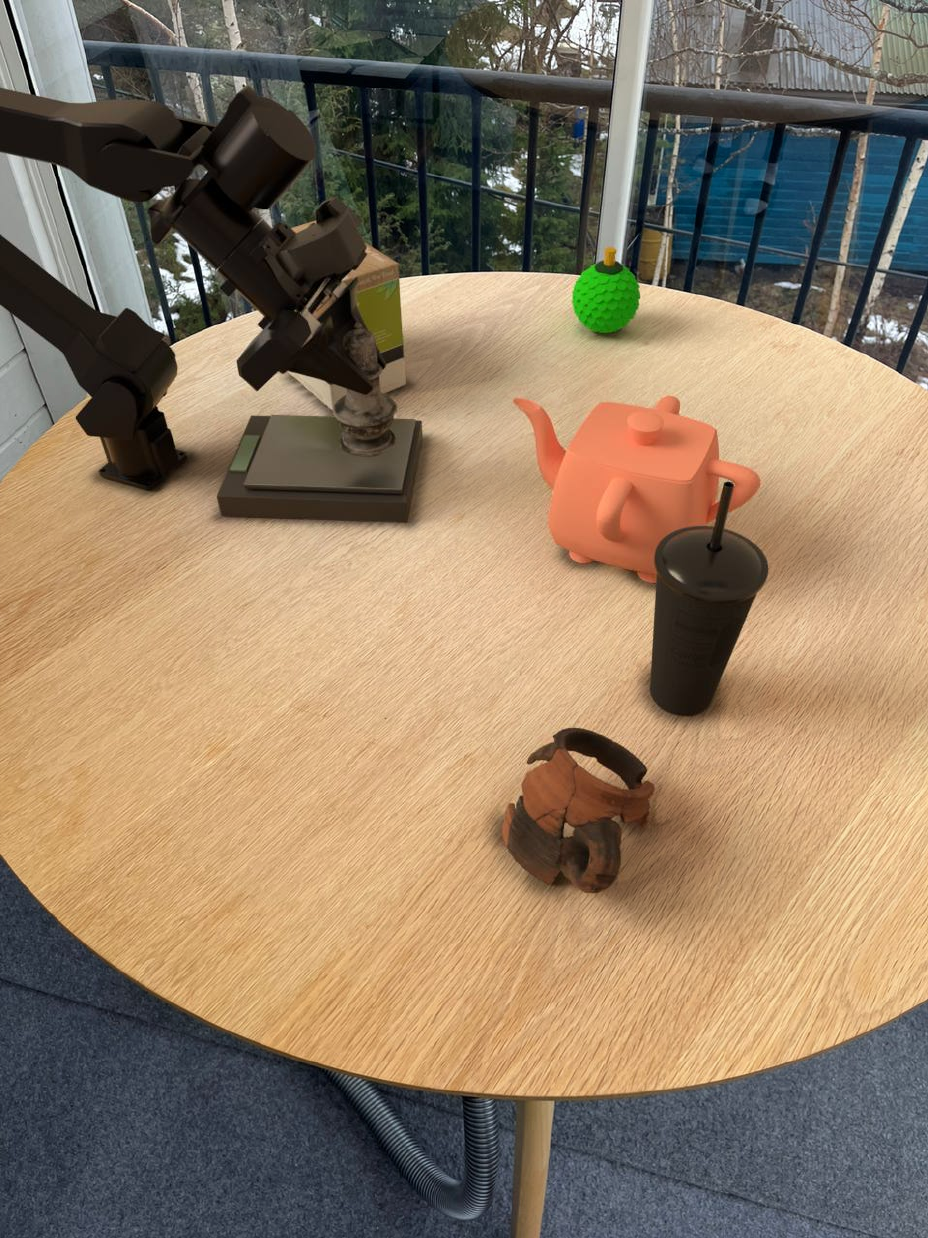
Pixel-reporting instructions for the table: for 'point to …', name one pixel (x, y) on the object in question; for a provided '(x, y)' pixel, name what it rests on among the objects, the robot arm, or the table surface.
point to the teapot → (632, 480)
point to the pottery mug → (576, 811)
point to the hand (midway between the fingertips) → (376, 380)
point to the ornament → (606, 295)
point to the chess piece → (365, 402)
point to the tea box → (371, 322)
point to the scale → (310, 503)
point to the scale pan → (326, 458)
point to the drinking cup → (700, 609)
